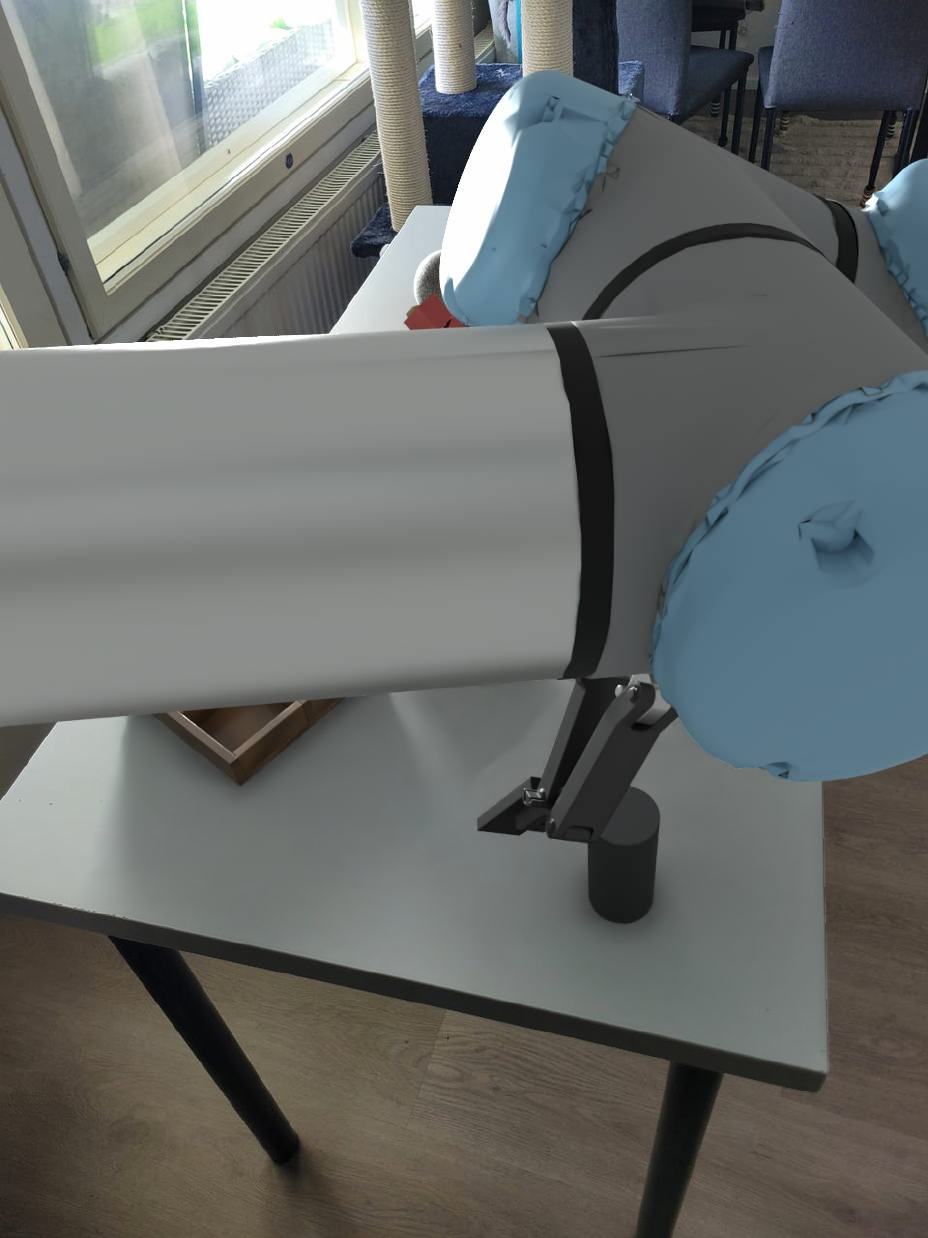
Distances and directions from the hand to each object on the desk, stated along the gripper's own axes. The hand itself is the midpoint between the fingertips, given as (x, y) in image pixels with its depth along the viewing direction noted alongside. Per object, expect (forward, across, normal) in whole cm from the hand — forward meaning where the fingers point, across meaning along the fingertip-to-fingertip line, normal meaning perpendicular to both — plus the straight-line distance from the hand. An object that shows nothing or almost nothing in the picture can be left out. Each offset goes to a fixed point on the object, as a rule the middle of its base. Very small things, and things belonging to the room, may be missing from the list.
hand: (491, 719), depth 56 cm
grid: (+30, +16, +9) cm, 35 cm away
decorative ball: (+35, +82, -16) cm, 91 cm away
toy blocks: (+25, +54, -20) cm, 63 cm away
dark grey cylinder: (+10, -7, -15) cm, 19 cm away
